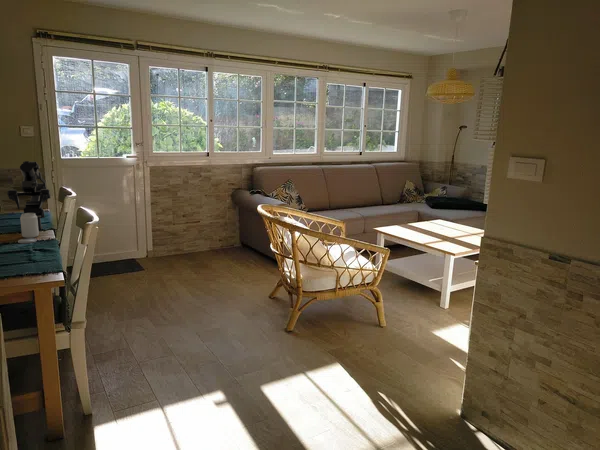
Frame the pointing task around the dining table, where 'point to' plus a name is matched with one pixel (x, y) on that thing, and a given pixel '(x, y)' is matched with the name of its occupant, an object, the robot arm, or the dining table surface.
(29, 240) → the coaster
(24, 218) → the can
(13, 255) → the dining table surface
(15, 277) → the dining table surface
